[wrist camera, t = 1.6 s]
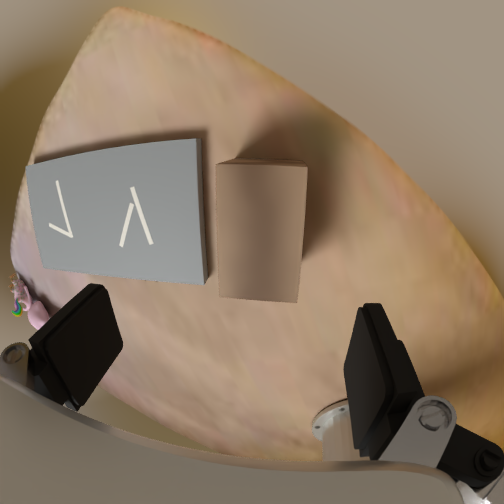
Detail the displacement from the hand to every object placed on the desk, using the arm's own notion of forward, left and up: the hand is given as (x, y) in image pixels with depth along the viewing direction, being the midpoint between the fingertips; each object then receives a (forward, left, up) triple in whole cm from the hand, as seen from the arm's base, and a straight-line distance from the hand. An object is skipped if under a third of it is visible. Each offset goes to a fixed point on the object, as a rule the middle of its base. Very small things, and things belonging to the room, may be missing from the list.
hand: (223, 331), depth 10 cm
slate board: (+18, 0, -18) cm, 25 cm away
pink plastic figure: (+36, +15, -18) cm, 43 cm away
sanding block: (0, 0, -18) cm, 18 cm away
